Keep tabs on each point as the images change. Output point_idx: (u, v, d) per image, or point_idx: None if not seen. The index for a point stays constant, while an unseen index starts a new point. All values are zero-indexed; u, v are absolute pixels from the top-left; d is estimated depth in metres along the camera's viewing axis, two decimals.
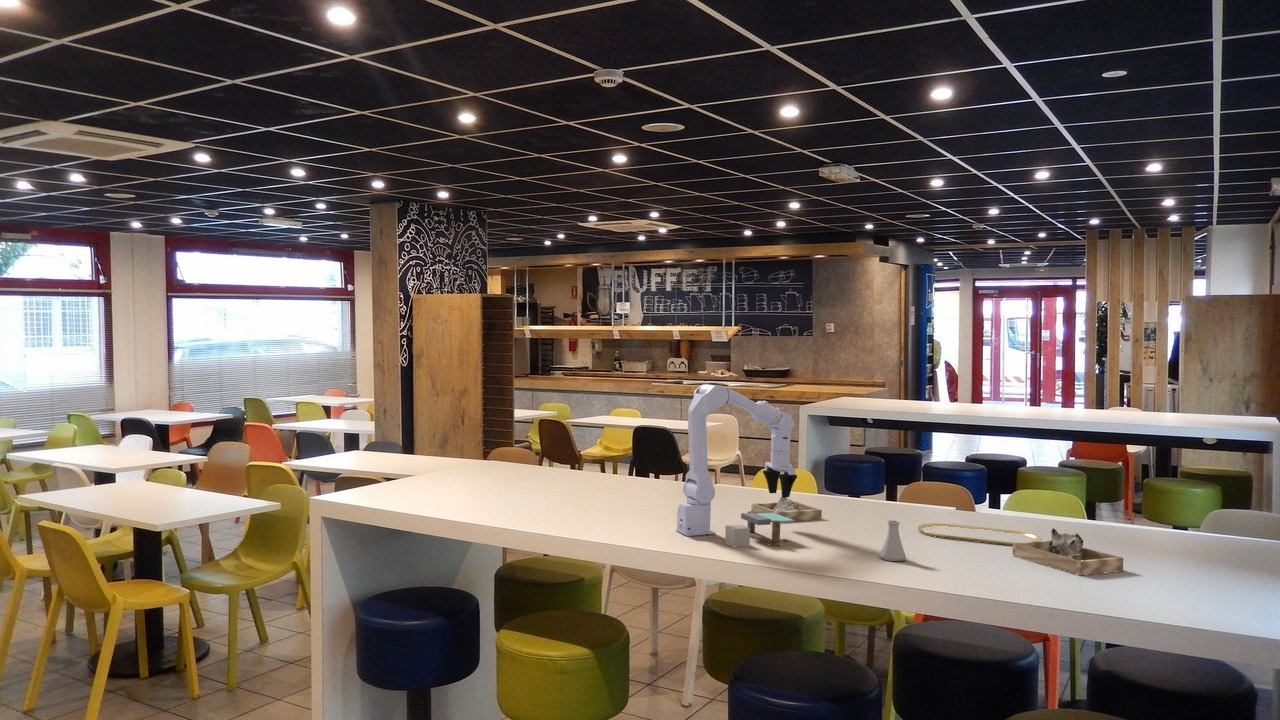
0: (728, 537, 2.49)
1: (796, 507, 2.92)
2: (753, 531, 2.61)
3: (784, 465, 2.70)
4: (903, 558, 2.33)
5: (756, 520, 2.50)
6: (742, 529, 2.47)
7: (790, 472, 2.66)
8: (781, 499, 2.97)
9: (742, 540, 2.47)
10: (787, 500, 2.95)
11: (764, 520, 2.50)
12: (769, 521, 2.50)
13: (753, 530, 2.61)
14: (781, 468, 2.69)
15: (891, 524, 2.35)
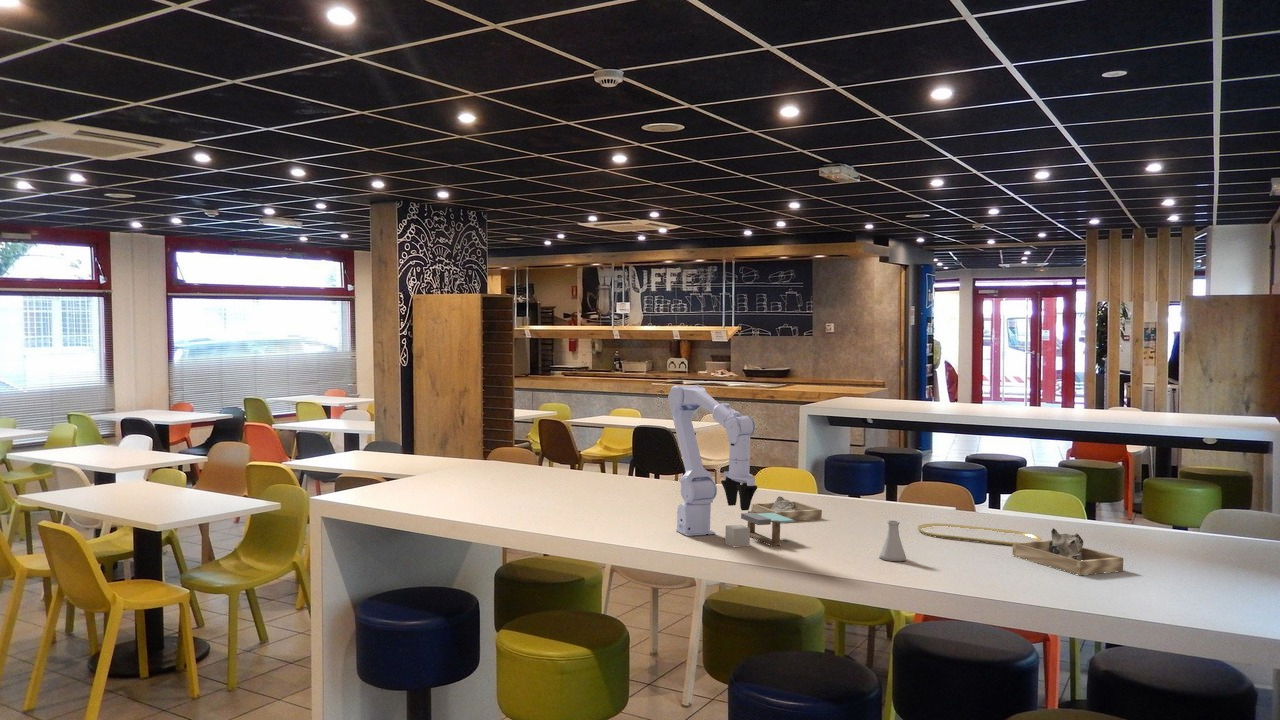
0: (728, 537, 2.49)
1: (793, 507, 2.92)
2: (753, 531, 2.61)
3: (743, 475, 2.46)
4: (903, 558, 2.33)
5: (756, 520, 2.50)
6: (742, 529, 2.47)
7: (749, 483, 2.42)
8: (778, 499, 2.96)
9: (742, 540, 2.47)
10: (784, 500, 2.95)
11: (764, 520, 2.50)
12: (769, 521, 2.50)
13: (753, 530, 2.61)
14: (740, 478, 2.44)
15: (891, 524, 2.35)
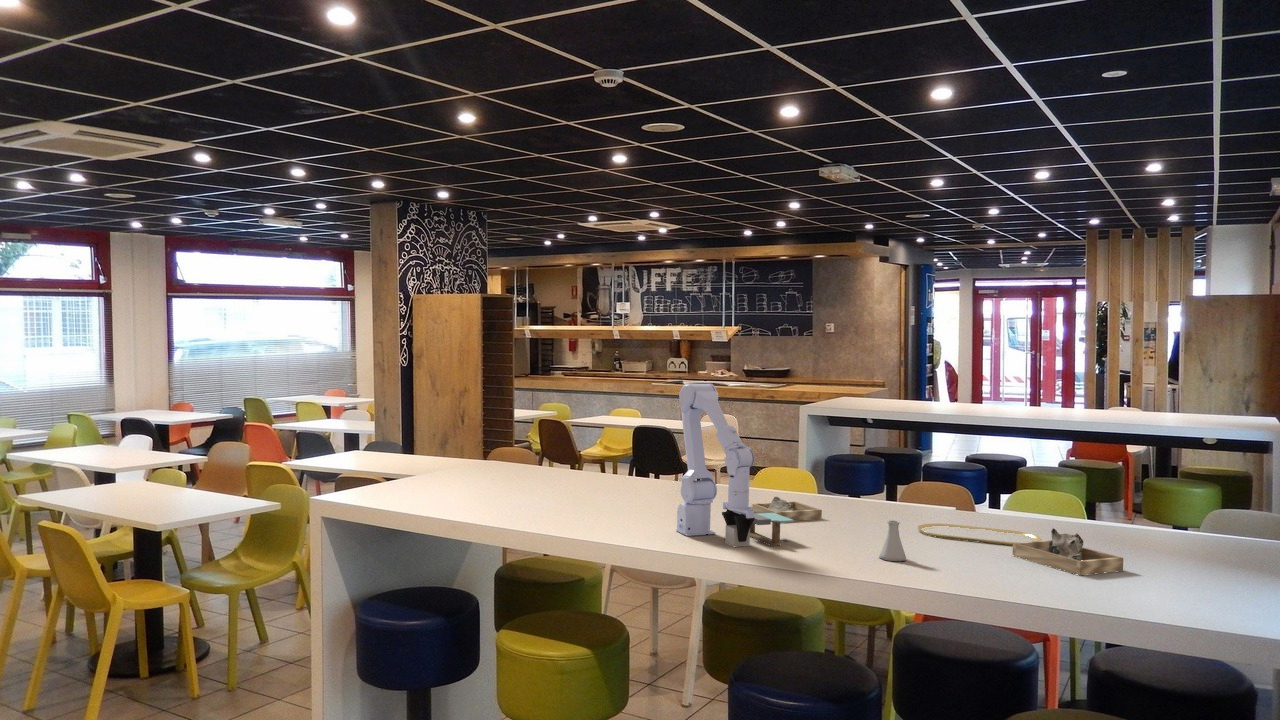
0: (728, 537, 2.49)
1: (790, 507, 2.91)
2: (753, 531, 2.61)
3: (742, 507, 2.46)
4: (903, 558, 2.33)
5: (756, 520, 2.50)
6: None
7: (748, 515, 2.42)
8: (774, 499, 2.96)
9: None
10: (780, 500, 2.94)
11: (764, 520, 2.50)
12: (769, 521, 2.50)
13: (753, 530, 2.61)
14: (739, 510, 2.44)
15: (891, 524, 2.35)
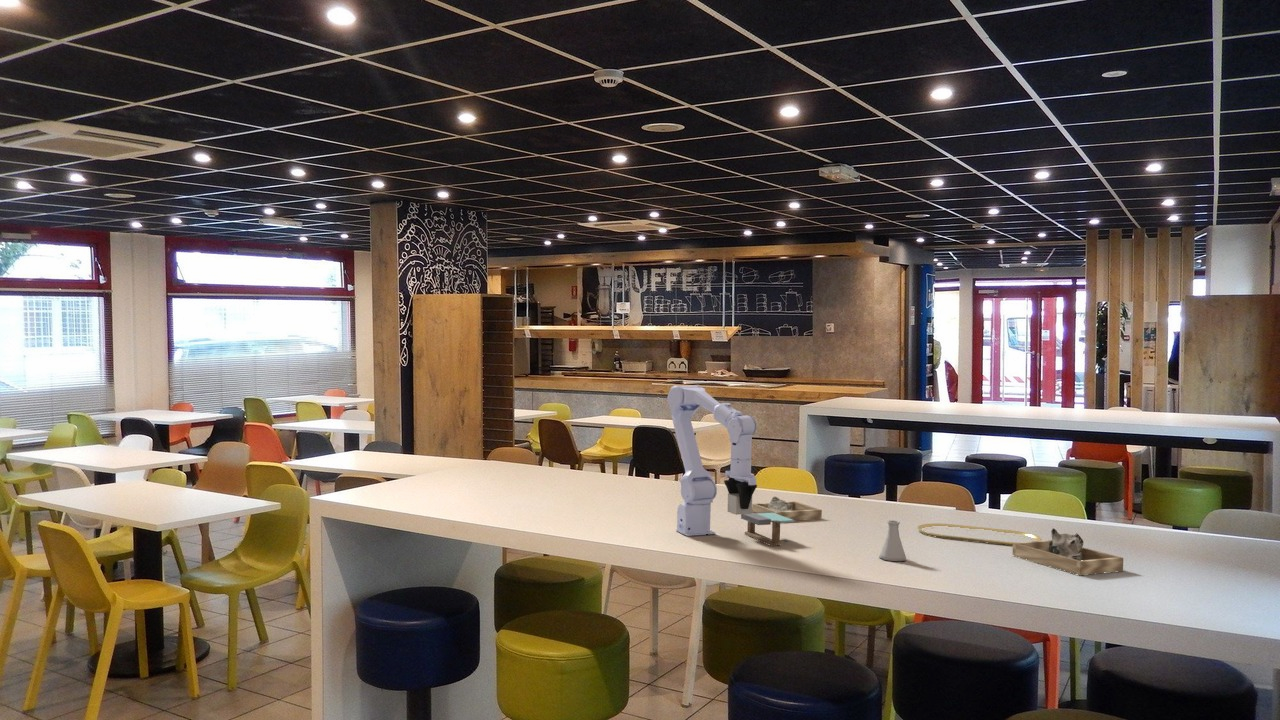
0: (730, 505, 2.49)
1: (789, 507, 2.91)
2: (753, 531, 2.61)
3: (745, 474, 2.46)
4: (903, 558, 2.33)
5: (756, 520, 2.50)
6: None
7: (750, 482, 2.42)
8: (773, 500, 2.95)
9: None
10: (779, 500, 2.94)
11: (764, 520, 2.50)
12: (769, 521, 2.50)
13: (753, 530, 2.61)
14: (741, 478, 2.45)
15: (891, 524, 2.35)
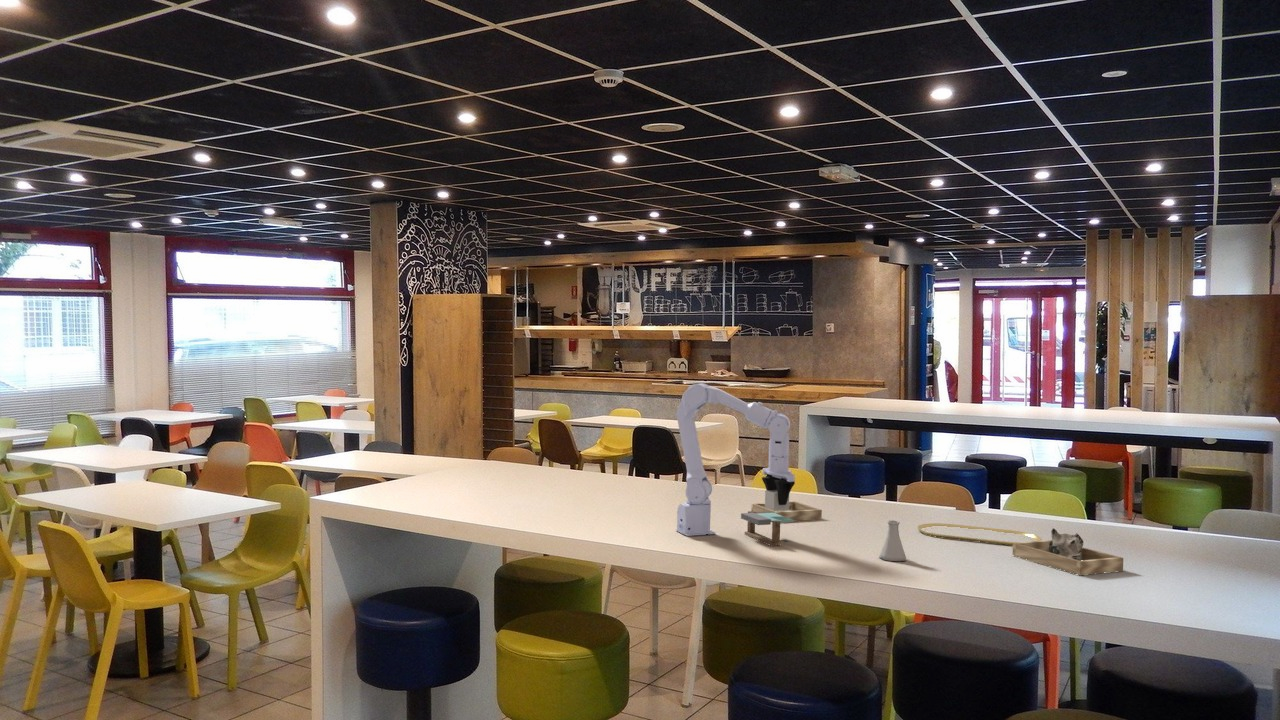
0: (768, 501, 2.57)
1: (789, 507, 2.91)
2: (753, 531, 2.61)
3: (783, 471, 2.54)
4: (903, 558, 2.33)
5: (756, 520, 2.50)
6: None
7: (789, 479, 2.50)
8: None
9: None
10: None
11: (764, 520, 2.50)
12: (769, 521, 2.50)
13: (753, 530, 2.61)
14: (779, 474, 2.52)
15: (891, 524, 2.35)
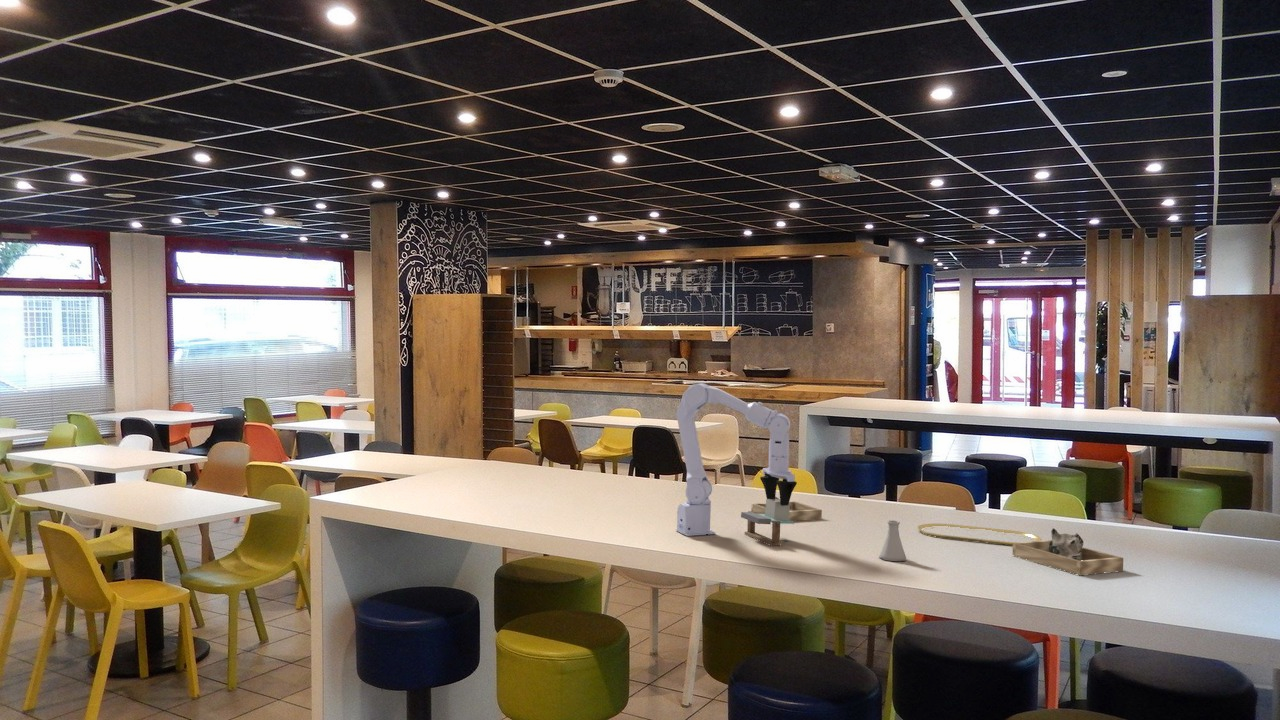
0: (768, 510, 2.57)
1: None
2: (753, 531, 2.61)
3: (783, 471, 2.54)
4: (903, 558, 2.33)
5: (756, 519, 2.50)
6: None
7: (789, 479, 2.50)
8: None
9: (782, 513, 2.55)
10: None
11: (764, 519, 2.50)
12: (769, 521, 2.50)
13: (753, 530, 2.61)
14: (779, 474, 2.52)
15: (891, 524, 2.35)
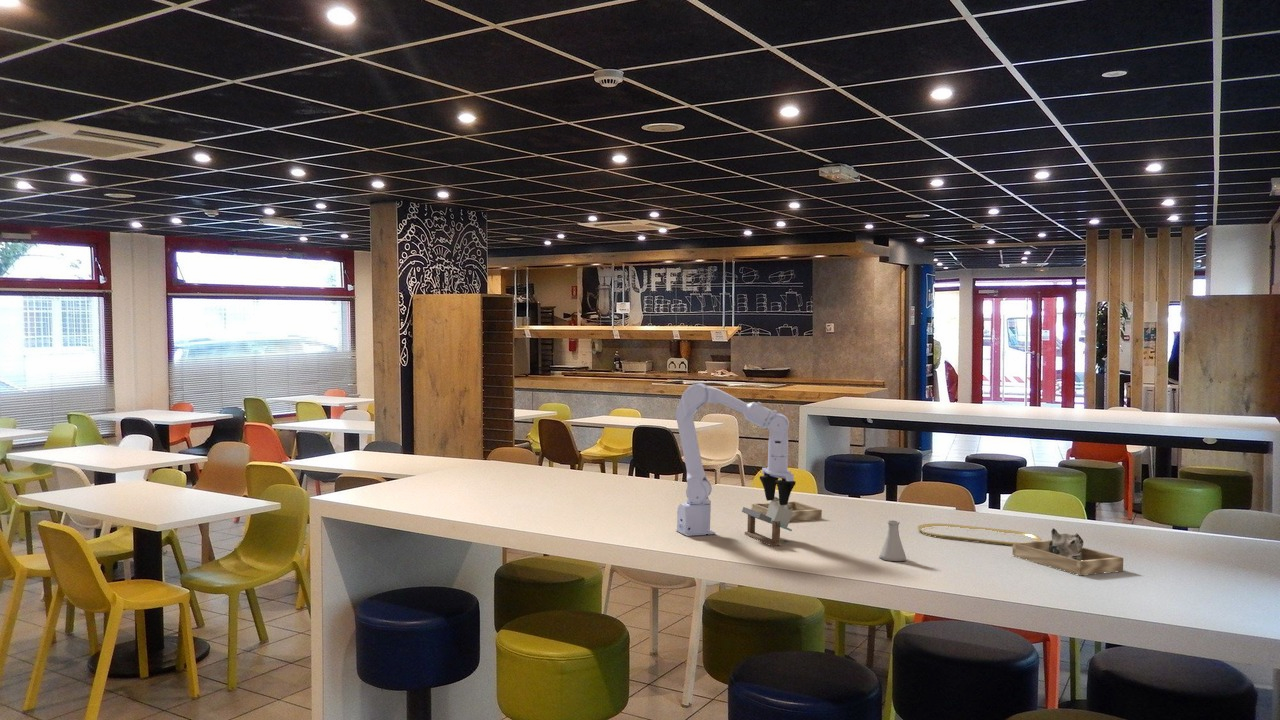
0: (770, 512, 2.57)
1: (789, 507, 2.91)
2: (753, 531, 2.61)
3: (782, 471, 2.55)
4: (903, 558, 2.33)
5: (758, 513, 2.50)
6: (786, 509, 2.55)
7: (788, 478, 2.51)
8: (773, 500, 2.95)
9: (783, 519, 2.55)
10: None
11: (765, 516, 2.50)
12: (769, 520, 2.50)
13: (753, 530, 2.61)
14: (778, 474, 2.53)
15: (891, 524, 2.35)
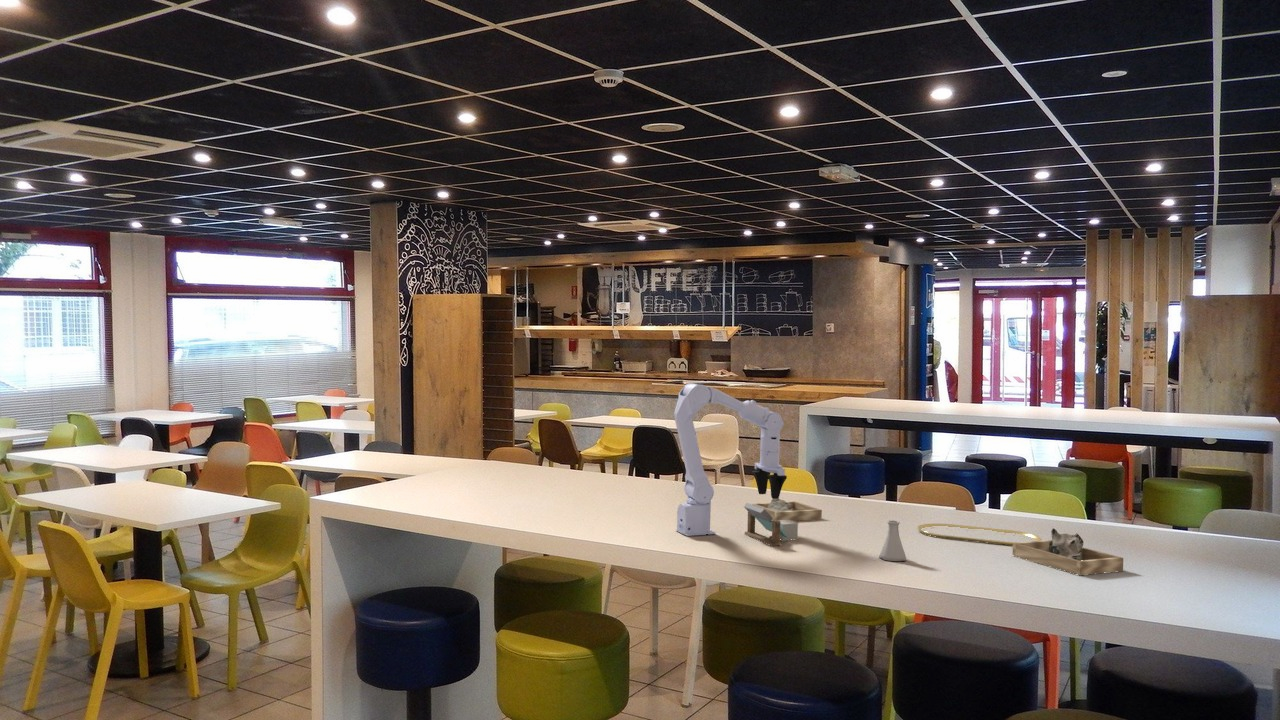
0: (783, 521, 2.59)
1: (790, 507, 2.91)
2: (753, 531, 2.61)
3: (773, 466, 2.66)
4: (903, 558, 2.33)
5: (761, 509, 2.50)
6: (796, 532, 2.57)
7: (779, 473, 2.61)
8: (773, 500, 2.95)
9: (787, 533, 2.56)
10: (780, 501, 2.94)
11: (767, 514, 2.50)
12: (770, 519, 2.50)
13: (753, 530, 2.61)
14: (770, 469, 2.64)
15: (891, 524, 2.35)
